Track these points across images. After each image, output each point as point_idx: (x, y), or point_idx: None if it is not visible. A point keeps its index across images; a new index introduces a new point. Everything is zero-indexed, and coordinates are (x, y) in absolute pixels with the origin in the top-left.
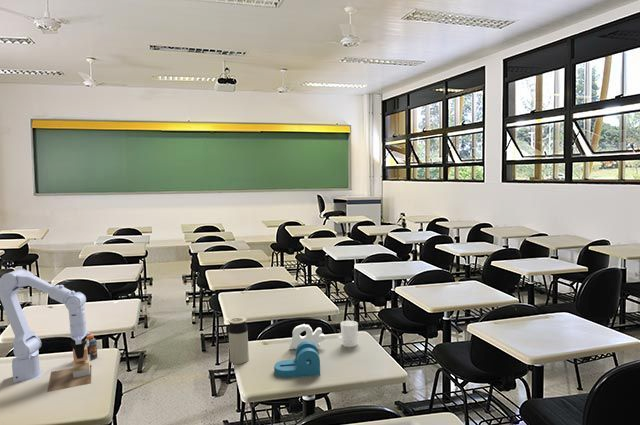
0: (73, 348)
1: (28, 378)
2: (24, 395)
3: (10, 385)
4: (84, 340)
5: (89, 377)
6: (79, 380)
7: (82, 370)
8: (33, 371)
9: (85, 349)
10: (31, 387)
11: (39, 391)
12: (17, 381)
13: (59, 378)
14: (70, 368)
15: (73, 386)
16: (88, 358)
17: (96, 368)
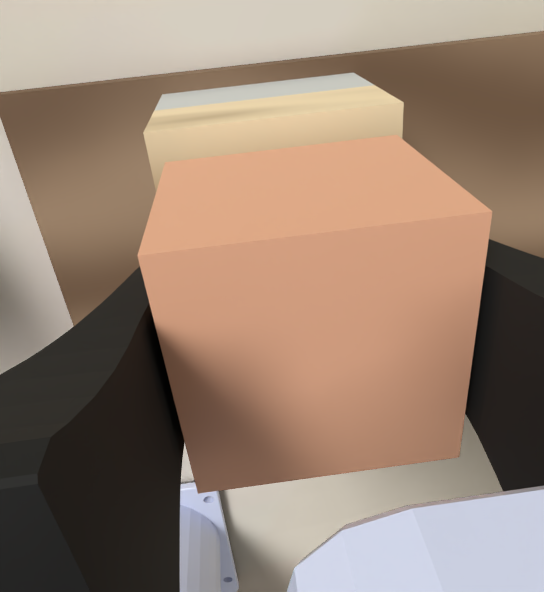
0: (276, 479)
1: (219, 544)
2: (473, 490)
3: (258, 586)
4: (117, 399)
5: (444, 67)
6: (463, 172)
7: None
8: (205, 567)
9: (486, 240)
10: (357, 487)
11: (464, 430)
12: (233, 578)
13: None
14: (73, 314)
15: None
16: (189, 137)
17: (109, 8)
